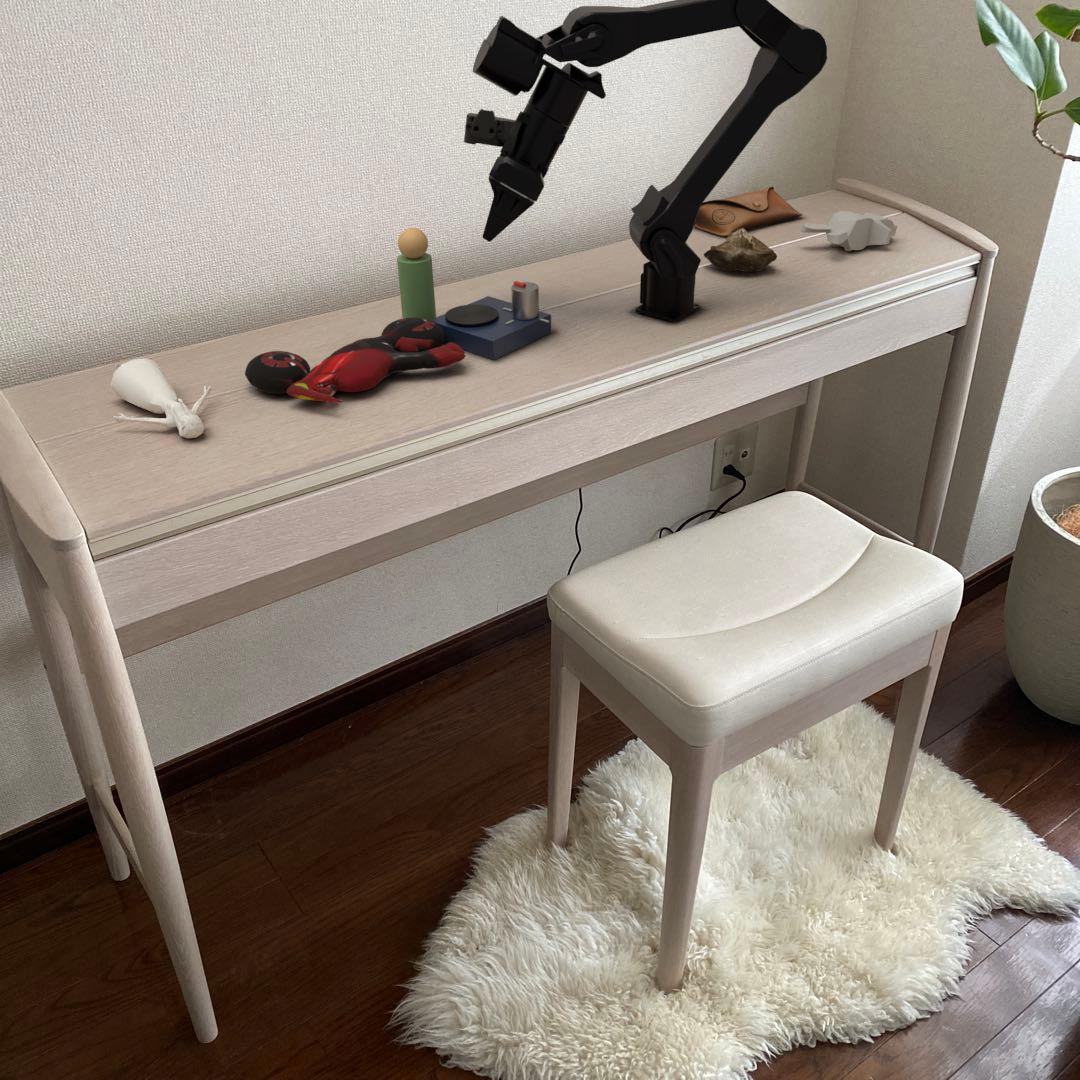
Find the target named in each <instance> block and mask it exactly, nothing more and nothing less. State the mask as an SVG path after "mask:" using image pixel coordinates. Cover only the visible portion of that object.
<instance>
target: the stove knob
mask: <svg viewBox="0 0 1080 1080" xmlns="http://www.w3.org/2000/svg"><path fill="white" fill-rule="evenodd" d="M539 291H540V290H539V284H537V283H535V282H531V281H518V280H515V281H513V284H512V285H511V303H512V315H513V317H514V318H516V319H519V320H531V319H535V318H537V317H538V316H539V311H540V310H539V308H540V293H539Z"/></svg>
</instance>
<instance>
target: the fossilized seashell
mask: <svg viewBox="0 0 1080 1080" xmlns="http://www.w3.org/2000/svg"><path fill="white" fill-rule="evenodd" d="M703 257H704V258H705V259H707V260H708V262H710V264H711V265H712V266H713V267H715V268H716V269H717V270H721V271H727V272H733V271H742V272H747V273H755V272H759V271H762V270H764V269H765V268H766V267H767V266H769V265H770V264H772V263H773V262H775V261H776V260H777V258H778V256H777V253H776V252H775V251H774V249H772V248H770V247H769V246H768V245H766V244H765V243H764V242H762V241H761V240H760V239H758V237H755V236H754V235H752V234H750V233H749V232H748V230H745V229H744V228H740V229H738V230H737V231H736V232H734V233H730V234H729V235H728V236H726V238H725V240H724V241H722V242H721V243H720V244H718V245H711V246H710V249H708V250H706V251H705V252H704V253H703Z"/></svg>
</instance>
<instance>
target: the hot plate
mask: <svg viewBox="0 0 1080 1080" xmlns="http://www.w3.org/2000/svg"><path fill="white" fill-rule="evenodd" d="M473 304H476V305H486V306H490V307H493V308H495V309H496V310H497V311H498V313H499V318H498V320H497V321H495V322H494V323H492V324H490V325H486V326H482V327H475V328H464V327H457V326H453V325H451V324H449V323H447V322H446V320H445V314H446V313H445V314H444V313H443V314H441V315H439V316H436V318H434V319H432V320H431V321H434V322H435V323H437V324H438V325H439V326H440V327H441V328H442V330H443V334H444V342H443V344H445V345H446V344H448V343H449V342H453V343H455V344H457V345H458V346H459V347H460V348H462V349H463V350H464V352H465V351H466V352H468V353H471V354H475V355H478V356H479V357H483V358H486V359H489V360H491V361H495V360H497V359H499V358H502V357H504V356H506V355H508V354H511V353H512V352H514V351H517V350H518V349H521V348H523V347H525V346H527V345H529V344H532V343H533V342H535V341H537V340H539V339H542V338H544V337H546V336H548V335H550V334H552V314H551V313H549V312H548V313H547V312H544V311H541V310H544V309H545V308H547V306H546V305H542V306H539V316H538V317H537V318H535V319H531V320H519V319H516V318H514V317H513V315H512V302H510V301H506V300H503V299H500V298H496V297H493V296H489V295H487V296H485V297H482V298H480V299H477V300H475V301H472V302H471V303H468V304H467V305H473Z"/></svg>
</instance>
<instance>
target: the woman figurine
mask: <svg viewBox="0 0 1080 1080" xmlns="http://www.w3.org/2000/svg"><path fill="white" fill-rule="evenodd" d="M206 387H207V386H206V385H204V387H203V392H204V393H203V394H202V396H201V397H200V399H198V400H197V401H196V402H194V404H193V406H191V408H189V407H188V406H187V405H186V404H185V403H184V401H183V399H182V398H180V397H178V396H177V393H176V391H175V389H174V387H173V386H172V384H171V383H170V381H169V379H168V377H167V375H166V373H165V372H164V370H163V369H162V368H161V367H160V366H159V365H158V364H157V363H156V362H155V361H154V360H153V359H148V358H144V357H143V358H142V357H141V358H136V357H135V358H133V359H131V360H129V361H127V362H124V363H122V364H121V365H120V363H119V362H117V363H115V365H114V371H113V374H112V378H111V383H110V388H111V390H112V391H113V393H114V394H115V396H116V397H117V398H119V399H121V400H123V401H125V402H128V403H130V404H132V405H134V406H136V407H138V408H141V409H143V410H146V411H149V412H151V413H153V414H165V416H166V417H165V418H160V417H159V418H158V417H127V416H126V415H125V414H123V413H120V412H118V413H117V414H118V415H117V416H115V415H112V418H111V420H113V421H114V422H115V421H116V422H118V423H126V422H129V423H140V424H152V425H159V426H160V425H161V426H166V428H168V429H169V428H177V430H178V435H179V437H183V438H185V439H196V438H198V437H199V436H201V435H202V434H203V433H204V432H205V425H204V424H203V421H202V419H201V418H200V417H199V415H198V414H197V413H198V411H199V410H200V407H201V406H203V404H204V402H205V400H206V399H207V397H208V396H209V395H210V394H211V391H212V387H211V385H209V386H208V387H207V388H206Z"/></svg>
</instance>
